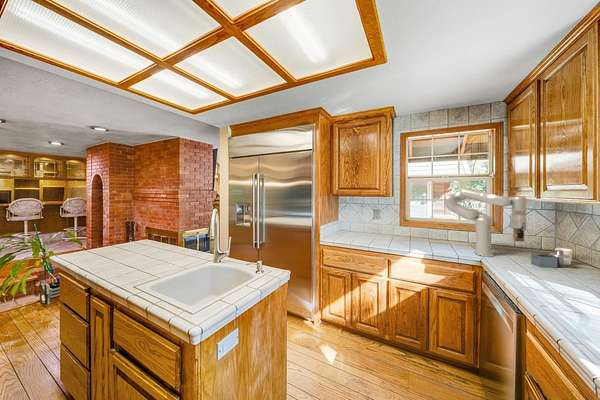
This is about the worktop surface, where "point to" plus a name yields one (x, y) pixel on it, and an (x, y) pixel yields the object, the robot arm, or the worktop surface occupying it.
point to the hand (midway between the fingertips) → (518, 237)
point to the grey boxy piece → (549, 259)
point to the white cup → (568, 252)
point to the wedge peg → (515, 235)
